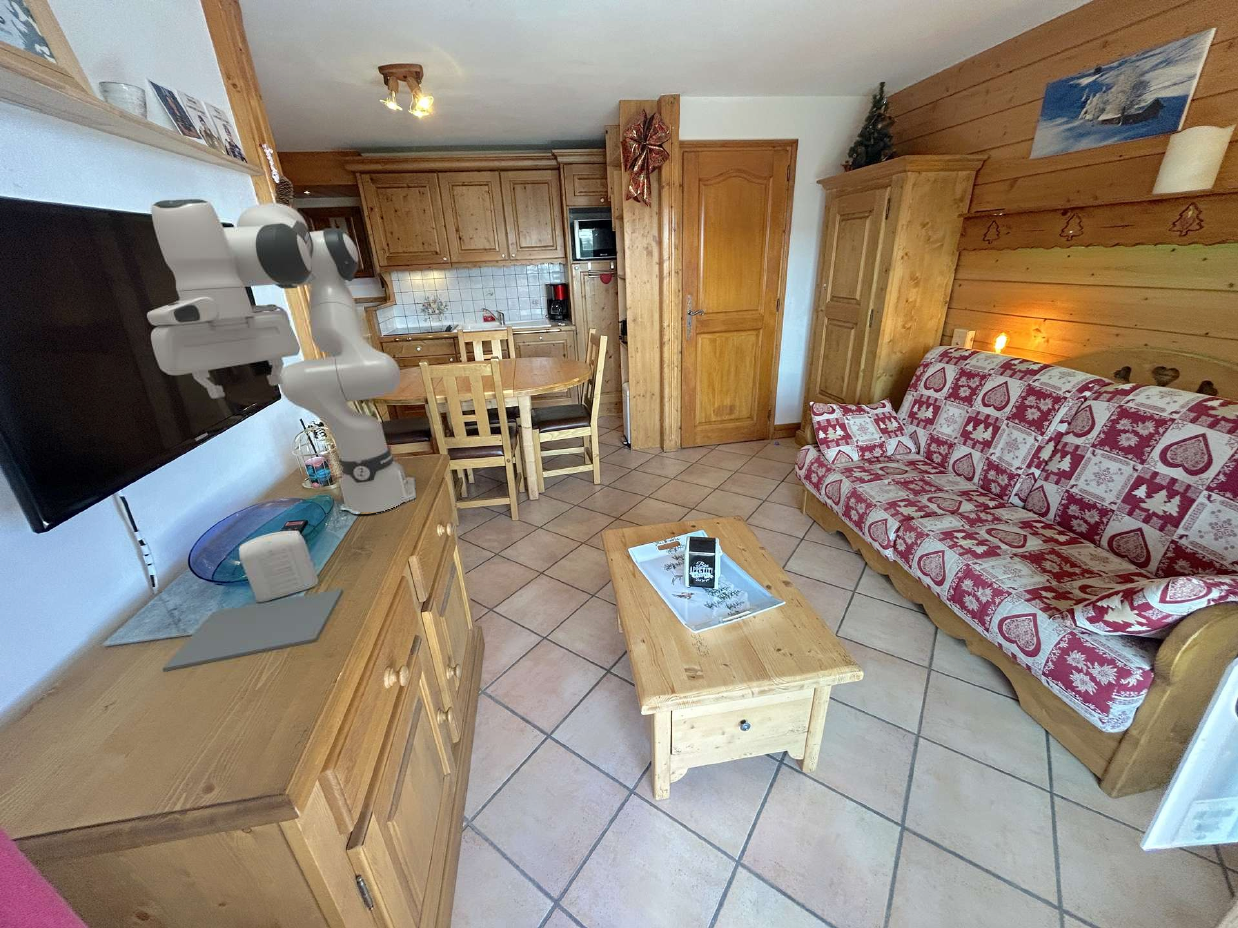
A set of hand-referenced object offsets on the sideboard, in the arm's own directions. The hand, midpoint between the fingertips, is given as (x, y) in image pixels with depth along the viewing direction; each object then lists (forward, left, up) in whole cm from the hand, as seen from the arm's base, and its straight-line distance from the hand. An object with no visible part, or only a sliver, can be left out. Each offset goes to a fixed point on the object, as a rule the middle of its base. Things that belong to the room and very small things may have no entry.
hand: (248, 390), depth 84 cm
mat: (+16, -3, -38) cm, 41 cm away
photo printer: (+5, -3, -38) cm, 39 cm away
